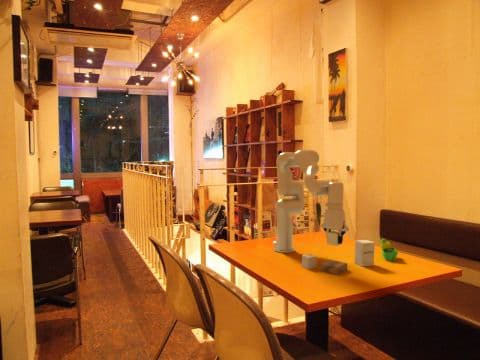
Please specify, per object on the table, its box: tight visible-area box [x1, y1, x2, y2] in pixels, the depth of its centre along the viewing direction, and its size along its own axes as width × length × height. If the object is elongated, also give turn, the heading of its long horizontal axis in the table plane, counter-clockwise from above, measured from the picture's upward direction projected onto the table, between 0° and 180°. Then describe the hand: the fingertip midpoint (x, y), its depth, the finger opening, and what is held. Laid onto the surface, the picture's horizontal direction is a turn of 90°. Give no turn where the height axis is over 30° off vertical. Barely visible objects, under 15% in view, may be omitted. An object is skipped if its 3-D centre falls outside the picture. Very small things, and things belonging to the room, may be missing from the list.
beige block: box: [326, 230, 343, 247], centre depth 191 cm, size 6×6×6 cm
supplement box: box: [354, 239, 375, 268], centre depth 202 cm, size 7×7×13 cm
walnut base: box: [319, 259, 348, 276], centre depth 192 cm, size 10×10×4 cm
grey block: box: [301, 253, 318, 270], centre depth 197 cm, size 6×6×6 cm
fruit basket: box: [379, 238, 399, 262], centre depth 215 cm, size 11×9×11 cm
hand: (334, 242), depth 191 cm, fingers closed on beige block, 5 cm apart
